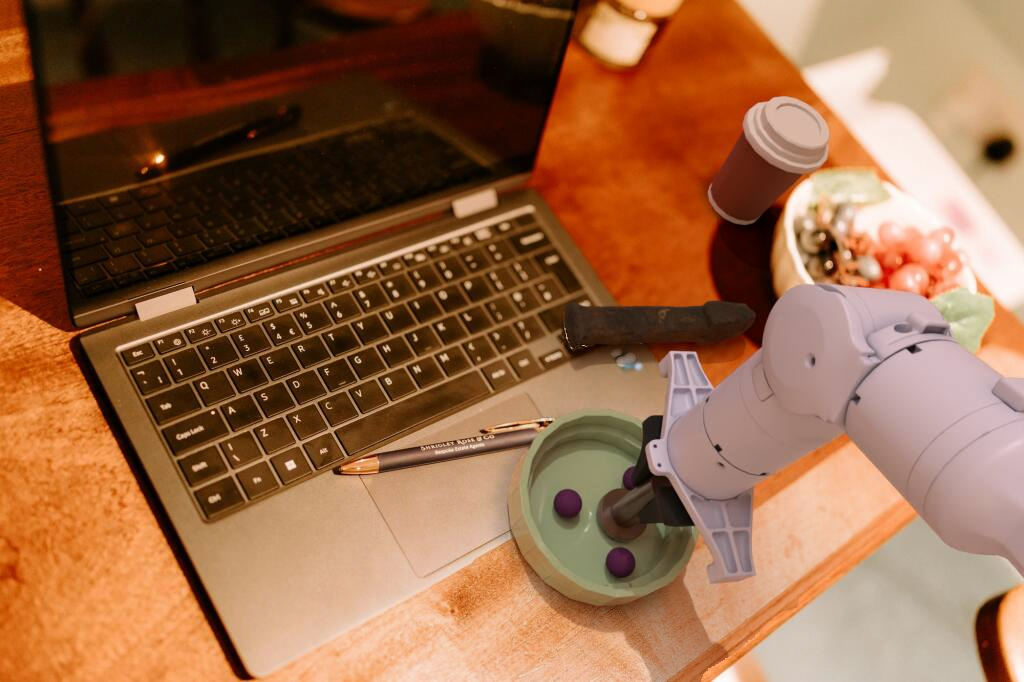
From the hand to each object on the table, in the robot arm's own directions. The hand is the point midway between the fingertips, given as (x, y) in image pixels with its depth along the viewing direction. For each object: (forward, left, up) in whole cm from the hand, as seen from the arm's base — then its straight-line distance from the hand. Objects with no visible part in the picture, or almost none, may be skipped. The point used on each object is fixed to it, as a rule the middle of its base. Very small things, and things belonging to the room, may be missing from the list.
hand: (647, 499), depth 51 cm
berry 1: (+1, +5, -4) cm, 6 cm away
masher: (0, 0, -5) cm, 5 cm away
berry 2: (-4, +1, -4) cm, 6 cm away
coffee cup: (+35, -21, -6) cm, 41 cm away
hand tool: (+18, -7, -6) cm, 20 cm away
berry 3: (+3, -2, -4) cm, 5 cm away
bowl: (+1, +2, -6) cm, 6 cm away
